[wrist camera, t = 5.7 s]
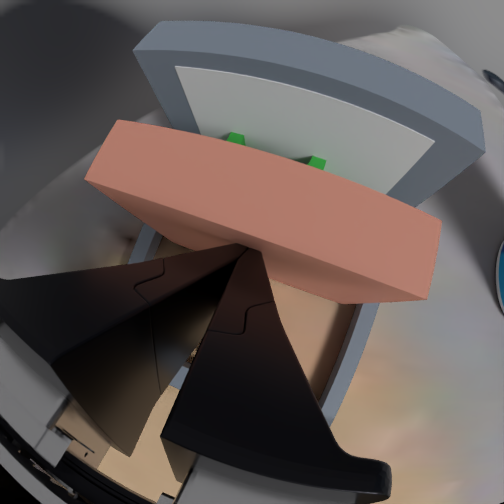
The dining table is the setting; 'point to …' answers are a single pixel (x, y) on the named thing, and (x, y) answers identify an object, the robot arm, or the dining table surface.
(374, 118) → the vise body
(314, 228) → the sliding jaw
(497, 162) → the dining table surface
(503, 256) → the beverage bottle
